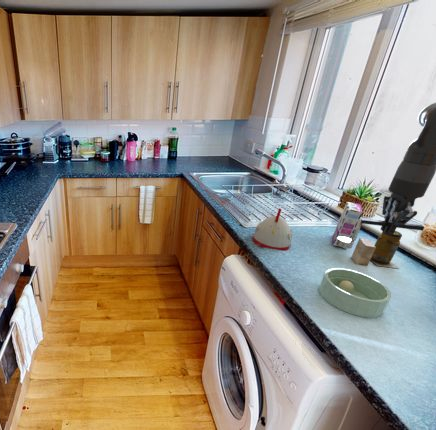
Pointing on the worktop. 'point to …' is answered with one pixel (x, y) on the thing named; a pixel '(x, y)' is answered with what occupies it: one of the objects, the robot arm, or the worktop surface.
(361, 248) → the brown wooden block
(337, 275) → the bowl
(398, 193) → the robot arm
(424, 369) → the worktop surface
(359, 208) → the candy bar box
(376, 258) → the condiment
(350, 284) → the dumpling
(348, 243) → the ladle
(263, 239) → the cream dome hat
